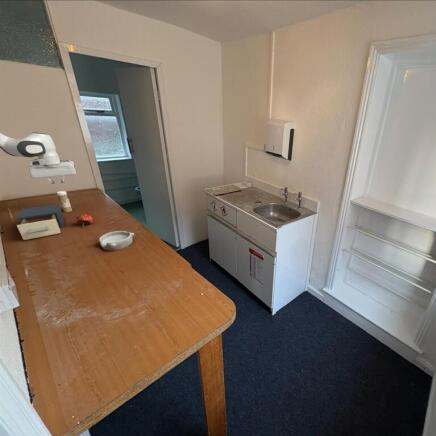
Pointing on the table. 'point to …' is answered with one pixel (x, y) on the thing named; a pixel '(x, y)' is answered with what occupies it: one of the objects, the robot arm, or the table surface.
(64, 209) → the sprinkles bottle
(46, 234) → the drawer
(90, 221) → the red mushroom
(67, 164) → the robot arm
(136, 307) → the table surface
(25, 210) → the cabinet
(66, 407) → the table surface
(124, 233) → the dish
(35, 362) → the table surface
